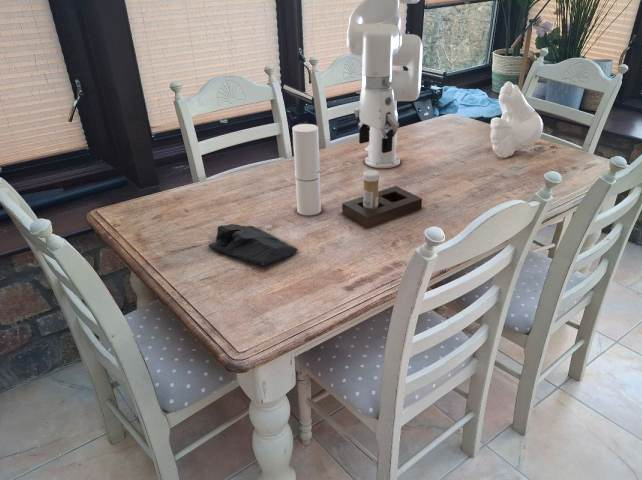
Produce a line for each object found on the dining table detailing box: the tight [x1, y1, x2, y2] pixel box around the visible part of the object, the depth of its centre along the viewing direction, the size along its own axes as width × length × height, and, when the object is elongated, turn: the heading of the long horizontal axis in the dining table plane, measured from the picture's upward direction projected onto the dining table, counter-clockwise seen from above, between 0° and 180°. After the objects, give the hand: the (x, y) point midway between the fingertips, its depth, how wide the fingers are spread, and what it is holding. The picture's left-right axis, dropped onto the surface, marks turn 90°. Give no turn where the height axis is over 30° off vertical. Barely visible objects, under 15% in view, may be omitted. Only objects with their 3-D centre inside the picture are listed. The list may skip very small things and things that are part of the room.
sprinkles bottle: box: [362, 169, 380, 211], centre depth 156 cm, size 5×5×14 cm
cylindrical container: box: [291, 123, 322, 216], centre depth 156 cm, size 7×7×25 cm
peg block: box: [341, 185, 423, 229], centre depth 161 cm, size 12×21×4 cm, turn 127°
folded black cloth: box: [208, 223, 299, 266], centre depth 141 cm, size 15×22×5 cm
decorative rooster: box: [489, 80, 544, 159], centre depth 198 cm, size 25×16×25 cm
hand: (375, 147), depth 148 cm, fingers open, 9 cm apart
